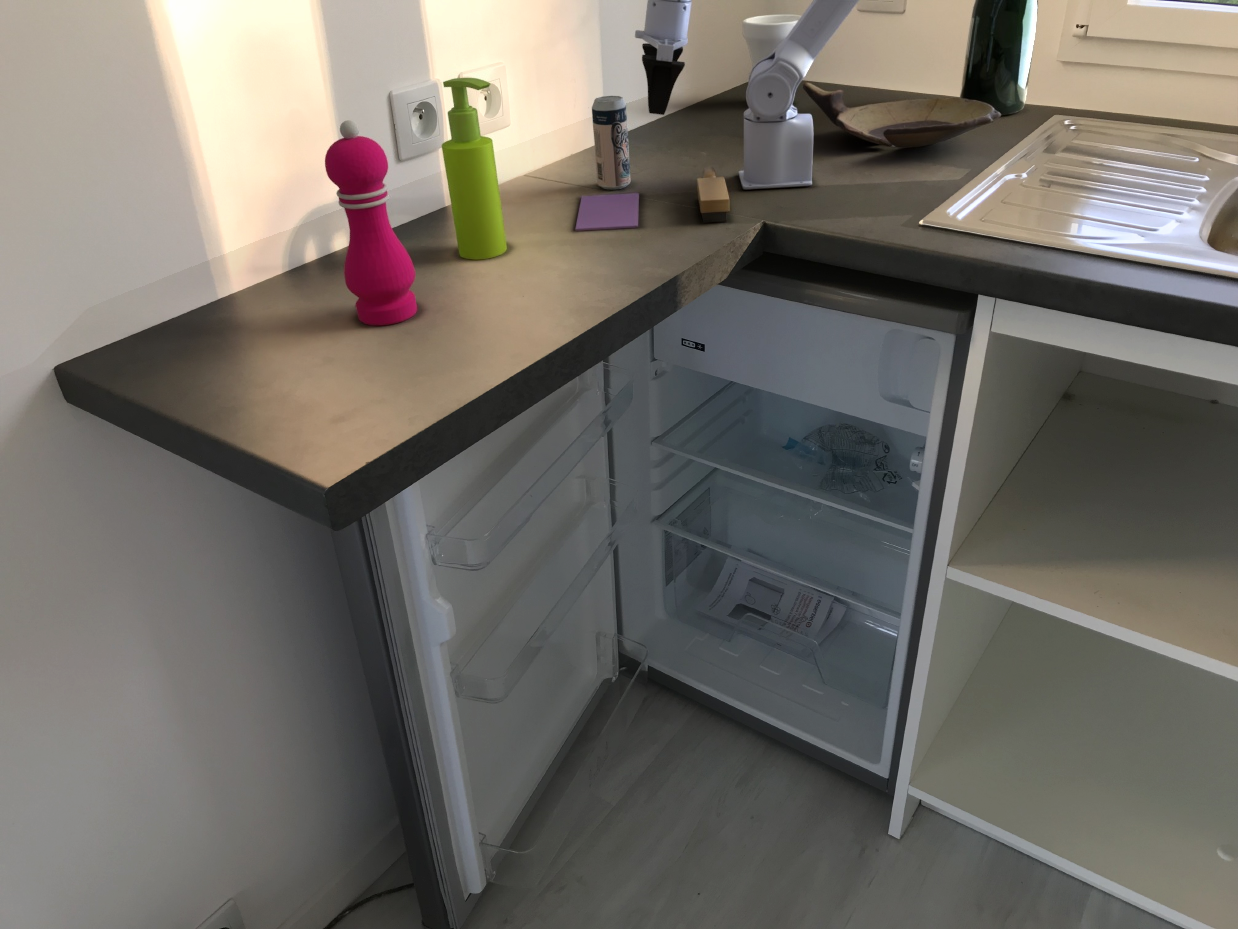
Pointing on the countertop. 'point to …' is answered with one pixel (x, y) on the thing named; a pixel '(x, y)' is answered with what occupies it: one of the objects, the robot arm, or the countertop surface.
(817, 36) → the robot arm
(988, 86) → the beer bottle
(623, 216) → the cloth
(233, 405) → the countertop surface
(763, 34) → the cup
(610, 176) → the beer can
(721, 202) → the hand brush
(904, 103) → the brown handled bowl
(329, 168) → the pepper mill
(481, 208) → the soap dispenser
